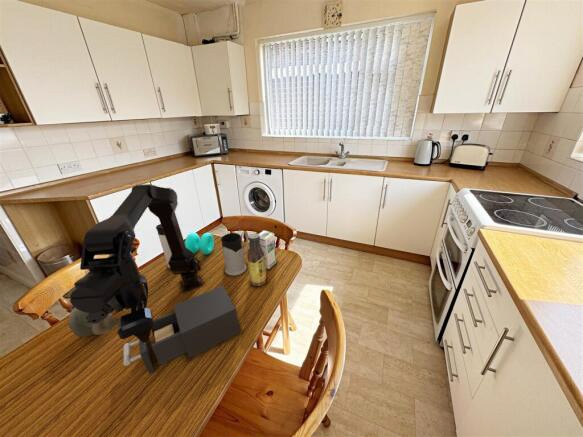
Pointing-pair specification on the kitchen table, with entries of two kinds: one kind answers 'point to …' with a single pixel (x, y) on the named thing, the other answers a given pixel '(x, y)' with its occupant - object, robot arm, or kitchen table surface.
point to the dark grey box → (206, 320)
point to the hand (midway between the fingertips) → (144, 328)
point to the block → (164, 333)
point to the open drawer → (158, 344)
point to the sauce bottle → (256, 261)
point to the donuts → (200, 243)
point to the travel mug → (164, 243)
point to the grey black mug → (234, 253)
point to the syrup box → (268, 248)
